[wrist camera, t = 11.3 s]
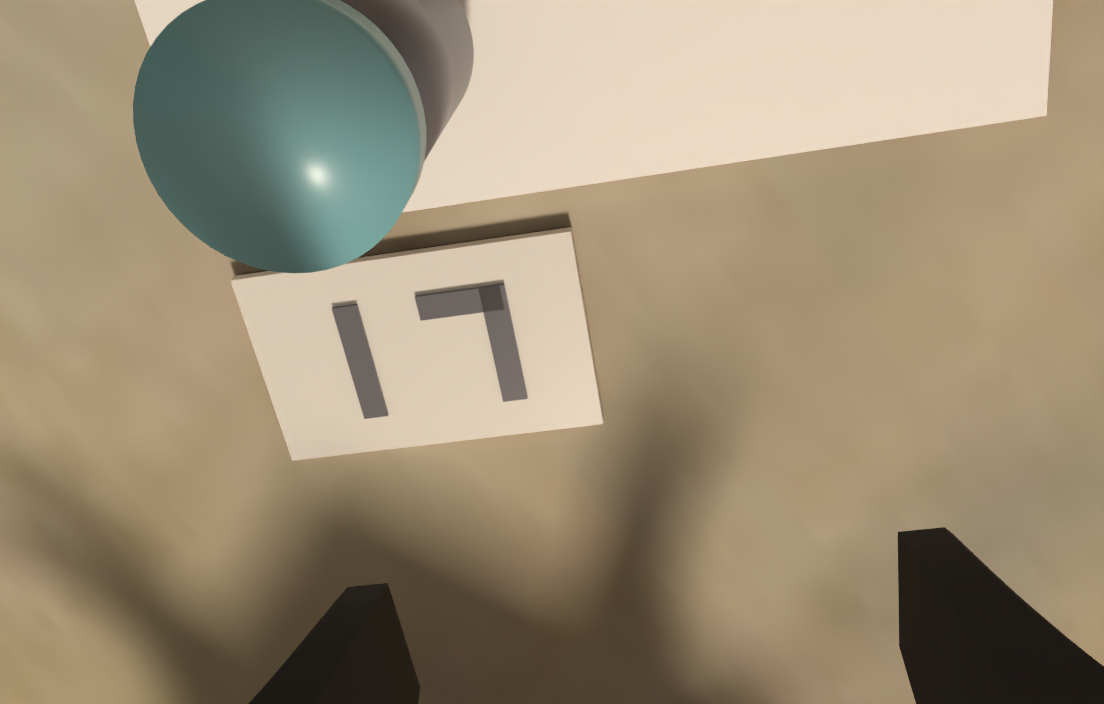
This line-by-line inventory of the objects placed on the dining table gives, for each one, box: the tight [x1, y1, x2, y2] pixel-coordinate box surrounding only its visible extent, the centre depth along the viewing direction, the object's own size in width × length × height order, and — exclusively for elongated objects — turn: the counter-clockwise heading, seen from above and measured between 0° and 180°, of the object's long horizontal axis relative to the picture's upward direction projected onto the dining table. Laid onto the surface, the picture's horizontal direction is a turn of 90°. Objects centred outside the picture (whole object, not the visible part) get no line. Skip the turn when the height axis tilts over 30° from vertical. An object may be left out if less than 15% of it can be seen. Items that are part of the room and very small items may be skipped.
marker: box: [133, 0, 474, 273], centre depth 16 cm, size 4×4×8 cm
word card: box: [231, 227, 603, 461], centre depth 23 cm, size 8×5×1 cm, turn 100°
